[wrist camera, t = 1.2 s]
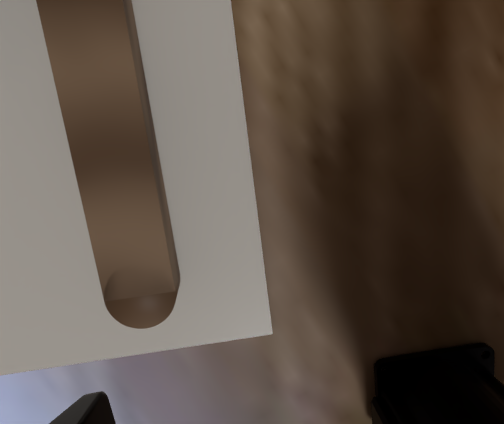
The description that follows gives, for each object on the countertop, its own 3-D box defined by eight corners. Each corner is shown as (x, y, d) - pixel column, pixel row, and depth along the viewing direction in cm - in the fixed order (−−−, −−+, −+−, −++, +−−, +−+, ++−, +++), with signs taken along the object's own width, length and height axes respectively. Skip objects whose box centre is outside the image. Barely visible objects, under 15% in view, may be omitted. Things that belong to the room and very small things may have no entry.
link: (4, -143, 15) (-28, -181, 13) (123, -156, 16) (108, -195, 14) (107, 314, 20) (94, 335, 18) (199, 300, 20) (197, 320, 18)
